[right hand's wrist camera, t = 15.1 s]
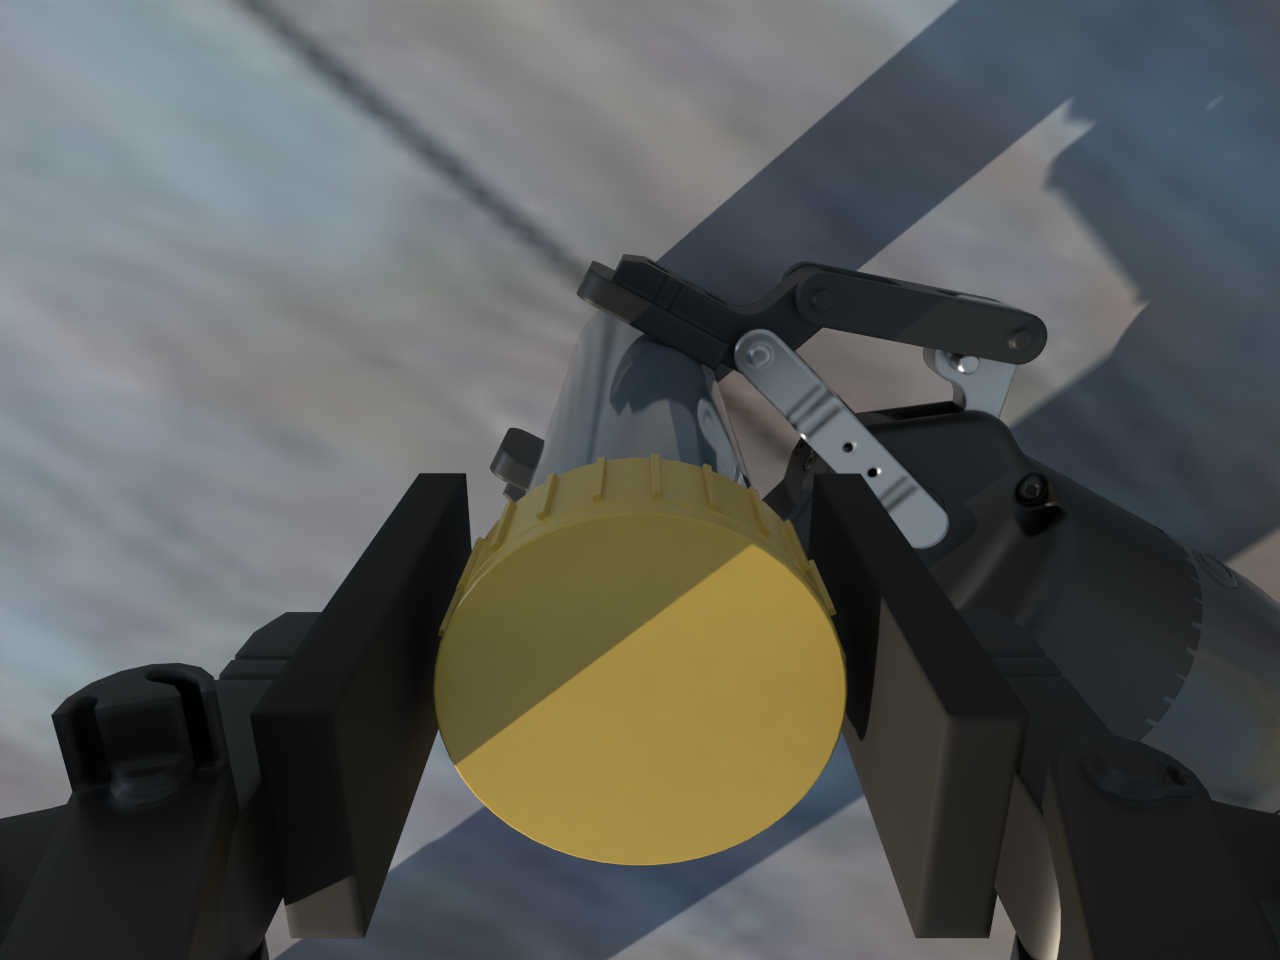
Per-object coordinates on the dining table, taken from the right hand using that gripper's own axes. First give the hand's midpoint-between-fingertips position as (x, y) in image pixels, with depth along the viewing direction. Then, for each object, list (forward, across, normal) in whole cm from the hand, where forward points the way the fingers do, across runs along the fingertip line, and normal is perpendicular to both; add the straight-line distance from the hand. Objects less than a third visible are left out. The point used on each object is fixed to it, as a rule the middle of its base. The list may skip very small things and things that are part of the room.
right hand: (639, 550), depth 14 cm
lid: (-4, 0, 0) cm, 4 cm away
